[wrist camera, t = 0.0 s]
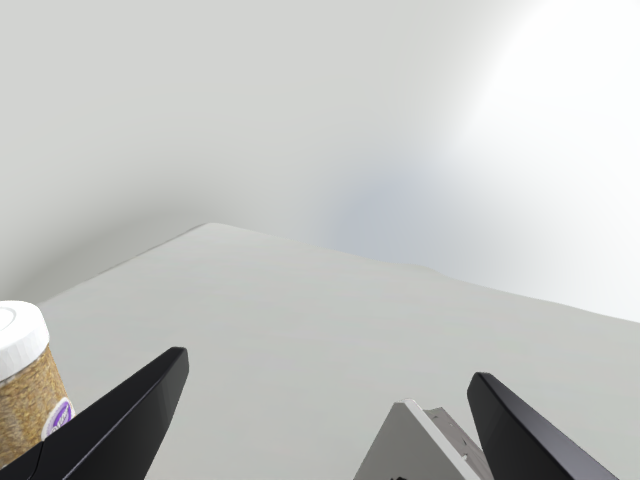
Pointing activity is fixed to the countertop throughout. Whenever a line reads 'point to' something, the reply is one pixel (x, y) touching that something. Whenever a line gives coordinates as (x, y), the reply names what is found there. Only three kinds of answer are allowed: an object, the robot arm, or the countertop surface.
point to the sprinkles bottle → (27, 382)
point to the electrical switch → (422, 448)
